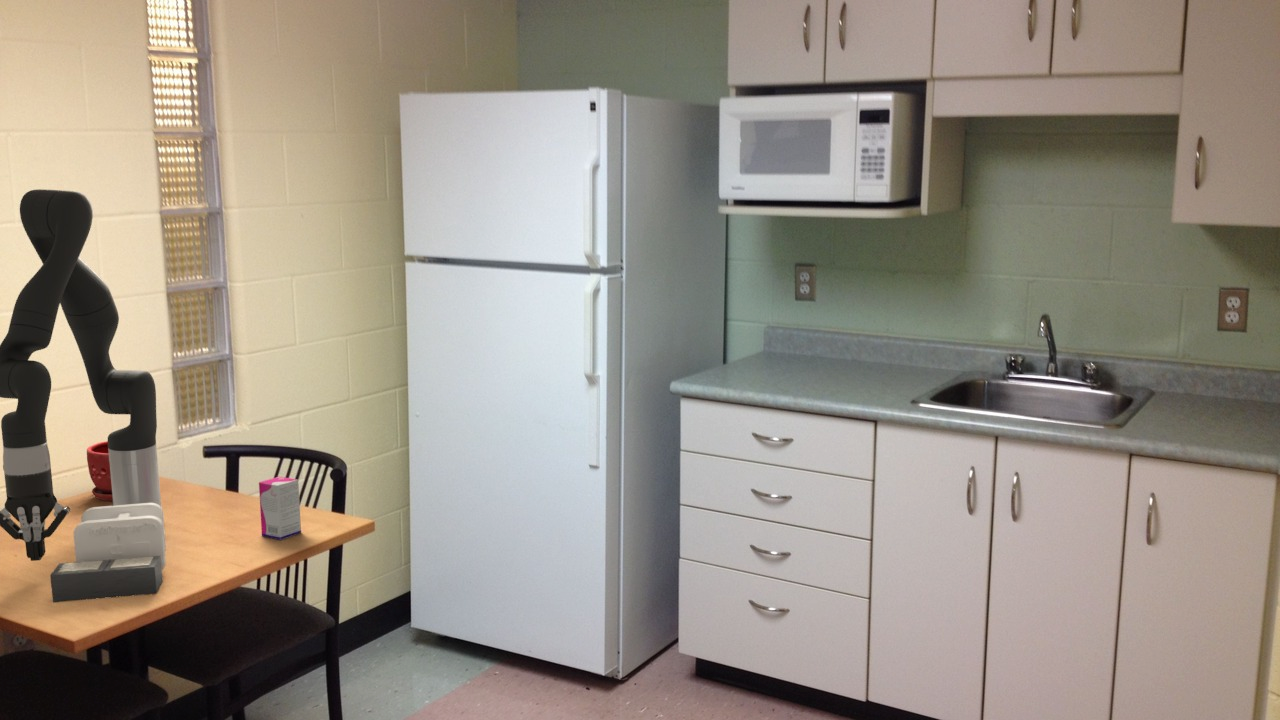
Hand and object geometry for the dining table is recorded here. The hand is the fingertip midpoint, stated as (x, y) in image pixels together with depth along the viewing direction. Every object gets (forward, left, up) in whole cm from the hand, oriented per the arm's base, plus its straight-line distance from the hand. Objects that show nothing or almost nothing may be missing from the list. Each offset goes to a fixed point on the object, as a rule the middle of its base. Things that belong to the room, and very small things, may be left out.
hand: (36, 559), depth 210 cm
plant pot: (-54, +4, -4) cm, 54 cm away
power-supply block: (+10, +14, -4) cm, 18 cm away
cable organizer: (0, +15, -4) cm, 16 cm away
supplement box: (-16, +42, -4) cm, 45 cm away
